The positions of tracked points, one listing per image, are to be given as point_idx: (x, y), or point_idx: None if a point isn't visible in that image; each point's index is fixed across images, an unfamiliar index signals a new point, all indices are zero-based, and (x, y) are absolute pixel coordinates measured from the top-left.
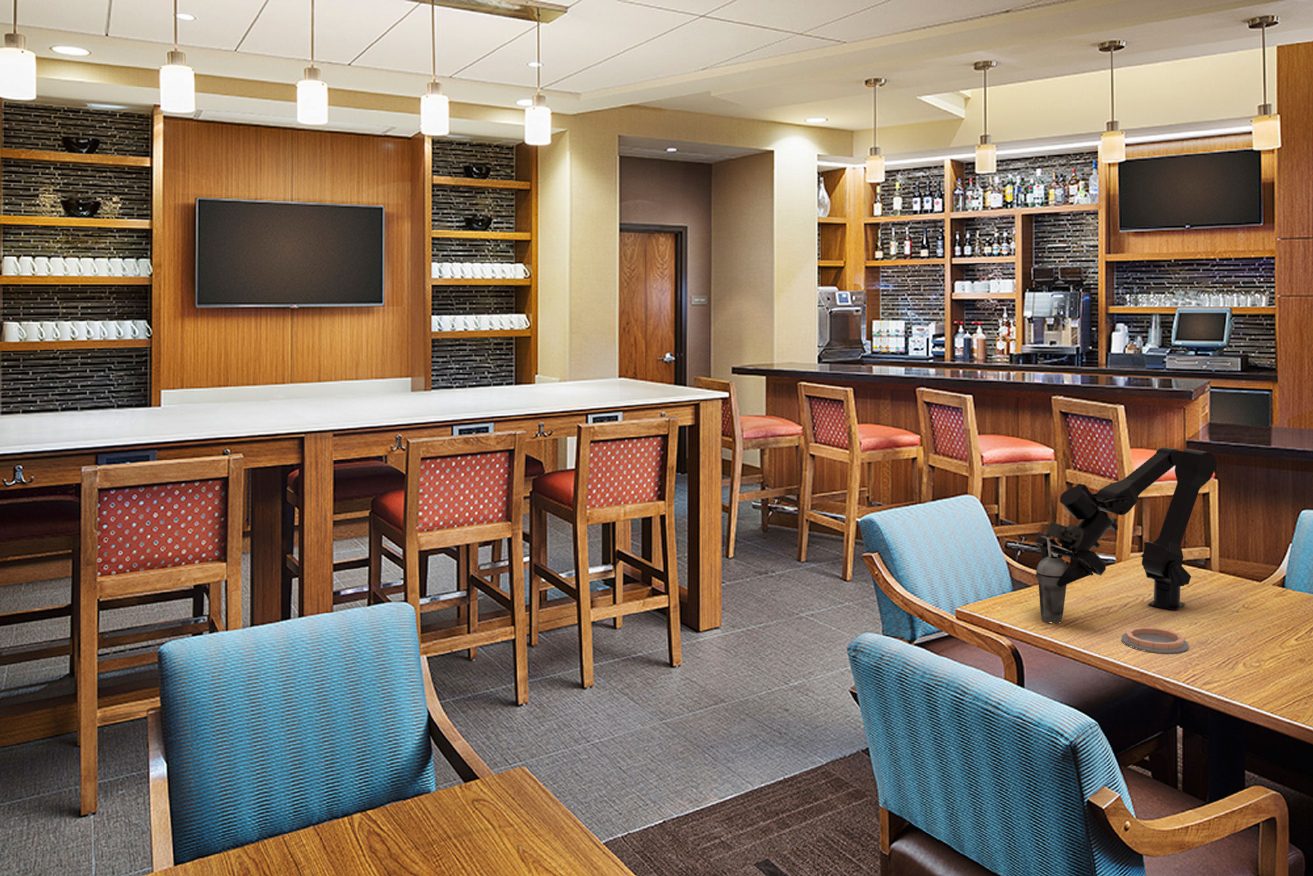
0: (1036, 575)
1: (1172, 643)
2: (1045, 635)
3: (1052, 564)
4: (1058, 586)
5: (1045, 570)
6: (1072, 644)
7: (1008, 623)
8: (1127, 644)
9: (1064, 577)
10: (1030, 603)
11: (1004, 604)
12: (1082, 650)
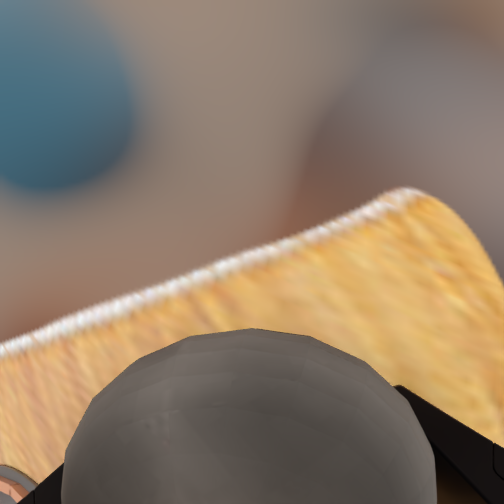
0: (396, 389)
1: None
2: (129, 317)
3: (80, 433)
4: None
5: (149, 354)
6: (49, 346)
7: (278, 258)
8: (13, 469)
9: (61, 466)
10: (485, 432)
11: (486, 335)
12: (17, 340)
